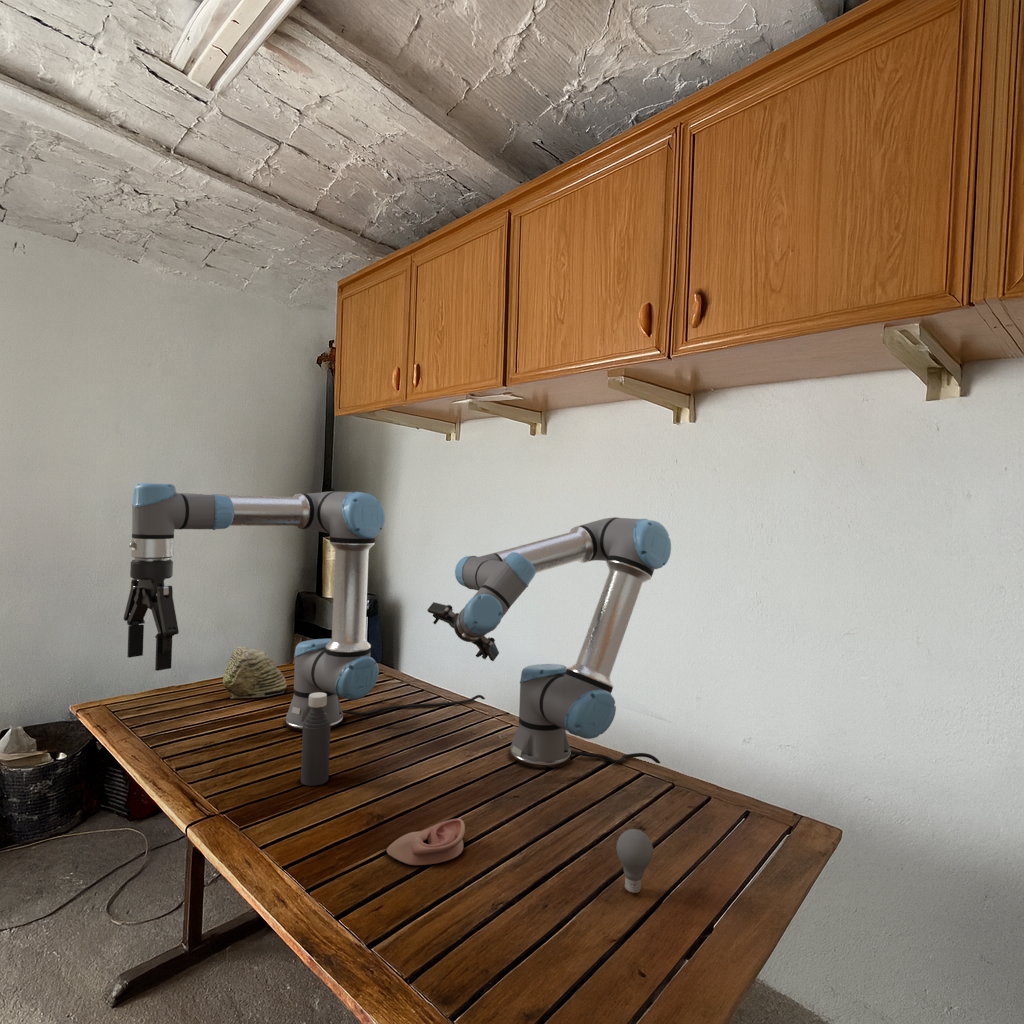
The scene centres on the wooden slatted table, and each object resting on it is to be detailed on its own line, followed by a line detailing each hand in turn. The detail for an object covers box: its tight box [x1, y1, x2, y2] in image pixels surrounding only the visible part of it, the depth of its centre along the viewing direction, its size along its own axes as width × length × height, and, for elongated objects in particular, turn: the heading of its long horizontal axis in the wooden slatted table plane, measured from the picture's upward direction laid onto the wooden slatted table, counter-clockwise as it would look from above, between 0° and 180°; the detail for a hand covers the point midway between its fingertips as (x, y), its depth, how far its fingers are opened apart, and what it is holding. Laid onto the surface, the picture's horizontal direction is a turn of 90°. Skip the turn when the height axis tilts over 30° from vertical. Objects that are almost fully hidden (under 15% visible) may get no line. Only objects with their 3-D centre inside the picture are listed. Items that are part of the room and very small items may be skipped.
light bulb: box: [615, 828, 654, 894], centre depth 106 cm, size 6×6×10 cm
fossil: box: [222, 646, 288, 699], centre depth 198 cm, size 9×18×15 cm, turn 132°
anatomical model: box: [386, 818, 466, 866], centre depth 115 cm, size 13×4×12 cm
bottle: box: [300, 706, 331, 787], centre depth 141 cm, size 6×6×19 cm
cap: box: [308, 692, 327, 708], centre depth 141 cm, size 4×4×2 cm
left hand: (148, 662), depth 129 cm, fingers open, 13 cm apart
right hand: (458, 635), depth 161 cm, fingers open, 13 cm apart
